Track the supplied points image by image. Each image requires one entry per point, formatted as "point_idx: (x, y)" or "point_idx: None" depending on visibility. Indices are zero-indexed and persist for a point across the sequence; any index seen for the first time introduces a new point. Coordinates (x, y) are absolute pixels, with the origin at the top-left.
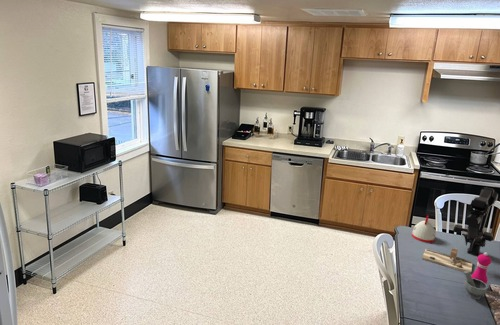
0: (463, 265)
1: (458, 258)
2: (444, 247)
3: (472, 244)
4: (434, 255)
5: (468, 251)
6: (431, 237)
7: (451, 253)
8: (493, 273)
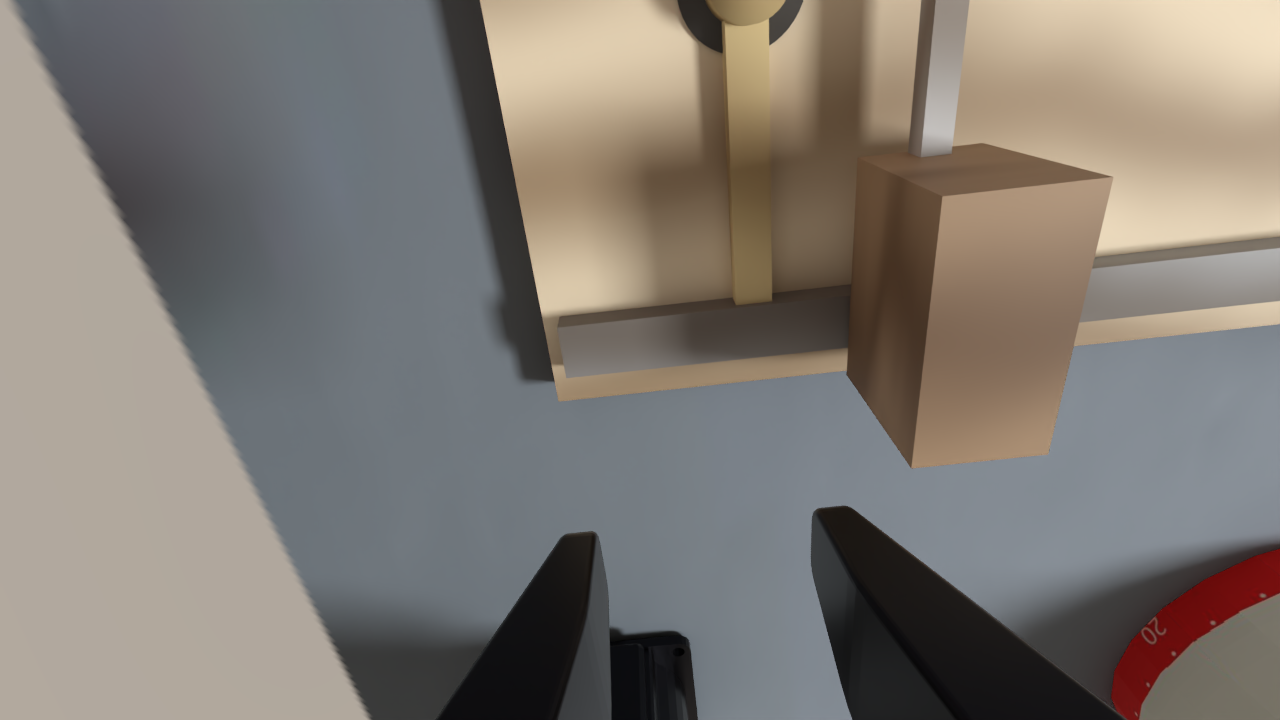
0: (669, 110)
1: (798, 305)
2: (991, 582)
3: (594, 657)
4: (1270, 110)
5: (679, 668)
6: (1262, 670)
7: (1056, 167)
8: (189, 295)
